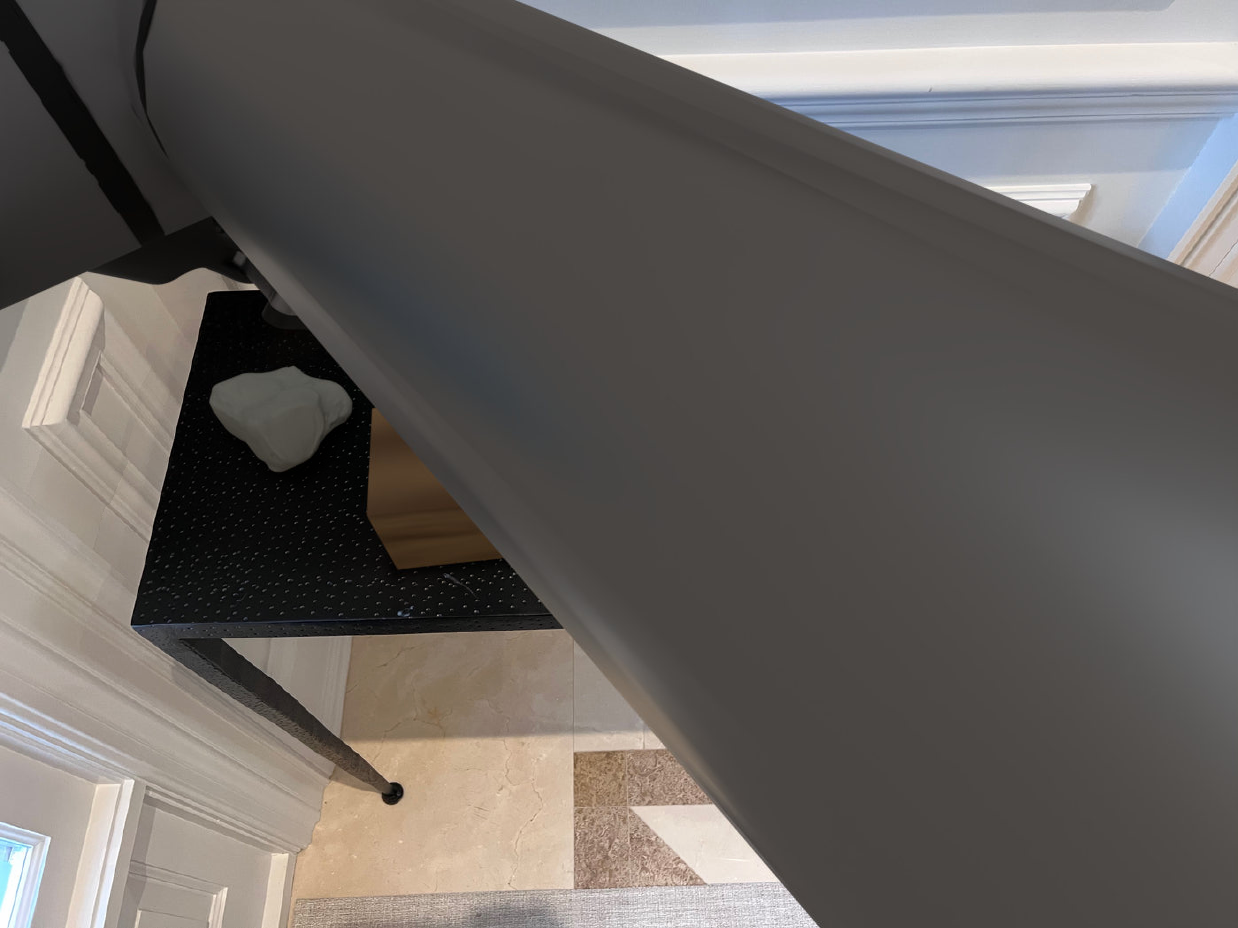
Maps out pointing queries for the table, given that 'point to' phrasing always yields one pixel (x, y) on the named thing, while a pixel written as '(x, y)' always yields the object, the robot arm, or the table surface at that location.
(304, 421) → the decorative stone
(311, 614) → the table surface
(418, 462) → the stand
